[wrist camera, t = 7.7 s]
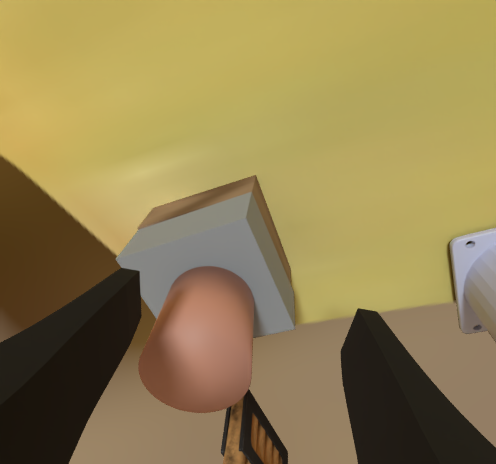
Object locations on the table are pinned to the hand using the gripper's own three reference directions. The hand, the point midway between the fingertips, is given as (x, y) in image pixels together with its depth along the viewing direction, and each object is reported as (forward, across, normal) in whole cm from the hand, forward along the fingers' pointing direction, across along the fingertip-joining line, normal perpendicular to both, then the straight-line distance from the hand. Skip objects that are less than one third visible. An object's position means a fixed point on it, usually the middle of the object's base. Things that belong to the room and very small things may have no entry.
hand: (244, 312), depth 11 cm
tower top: (+8, +2, +4) cm, 9 cm away
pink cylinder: (+4, +2, +4) cm, 6 cm away
